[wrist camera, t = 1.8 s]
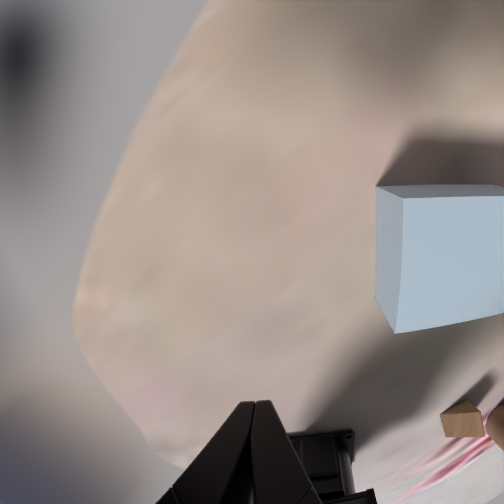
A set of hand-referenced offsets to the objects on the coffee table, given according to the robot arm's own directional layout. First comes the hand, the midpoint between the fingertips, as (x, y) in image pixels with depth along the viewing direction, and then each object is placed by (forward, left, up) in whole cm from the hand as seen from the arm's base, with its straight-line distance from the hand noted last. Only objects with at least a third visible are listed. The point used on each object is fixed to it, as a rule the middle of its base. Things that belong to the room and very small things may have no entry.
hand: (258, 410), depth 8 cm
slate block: (0, -11, -12) cm, 16 cm away
